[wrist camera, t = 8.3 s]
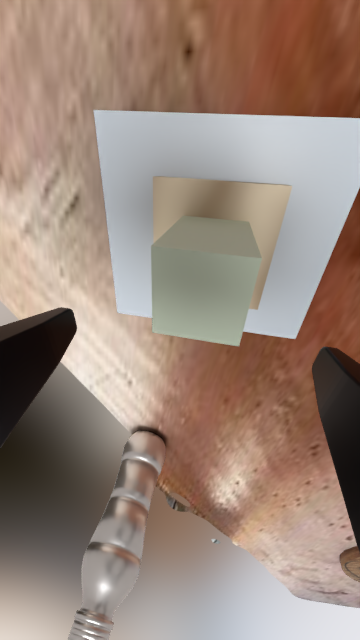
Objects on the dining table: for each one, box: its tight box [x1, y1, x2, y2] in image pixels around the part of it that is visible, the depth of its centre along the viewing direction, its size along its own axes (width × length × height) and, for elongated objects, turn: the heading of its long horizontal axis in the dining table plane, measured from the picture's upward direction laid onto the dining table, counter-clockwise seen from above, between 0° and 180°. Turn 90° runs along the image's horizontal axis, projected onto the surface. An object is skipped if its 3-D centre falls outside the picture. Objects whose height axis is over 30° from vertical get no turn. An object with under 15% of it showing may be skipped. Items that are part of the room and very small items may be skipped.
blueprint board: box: [94, 110, 360, 339], centre depth 19 cm, size 18×16×1 cm
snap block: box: [151, 216, 262, 346], centre depth 14 cm, size 5×5×8 cm
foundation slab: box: [153, 176, 292, 310], centre depth 18 cm, size 9×9×2 cm
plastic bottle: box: [68, 431, 166, 640], centre depth 29 cm, size 6×7×20 cm
